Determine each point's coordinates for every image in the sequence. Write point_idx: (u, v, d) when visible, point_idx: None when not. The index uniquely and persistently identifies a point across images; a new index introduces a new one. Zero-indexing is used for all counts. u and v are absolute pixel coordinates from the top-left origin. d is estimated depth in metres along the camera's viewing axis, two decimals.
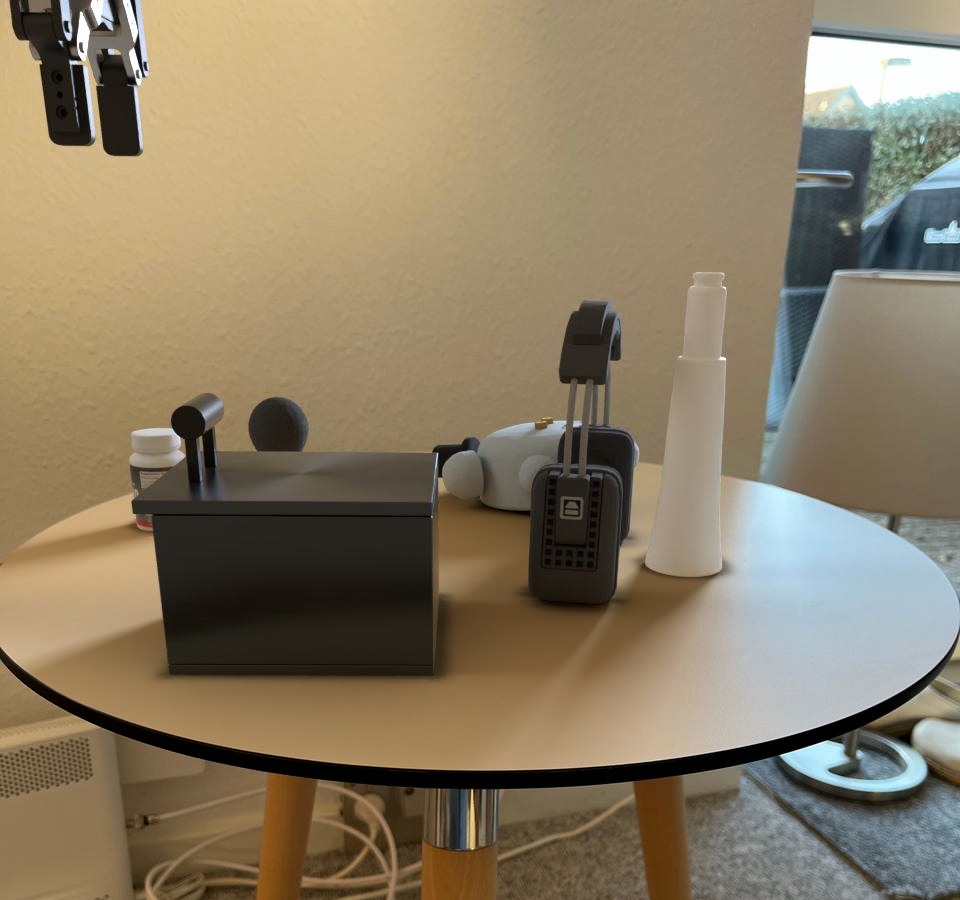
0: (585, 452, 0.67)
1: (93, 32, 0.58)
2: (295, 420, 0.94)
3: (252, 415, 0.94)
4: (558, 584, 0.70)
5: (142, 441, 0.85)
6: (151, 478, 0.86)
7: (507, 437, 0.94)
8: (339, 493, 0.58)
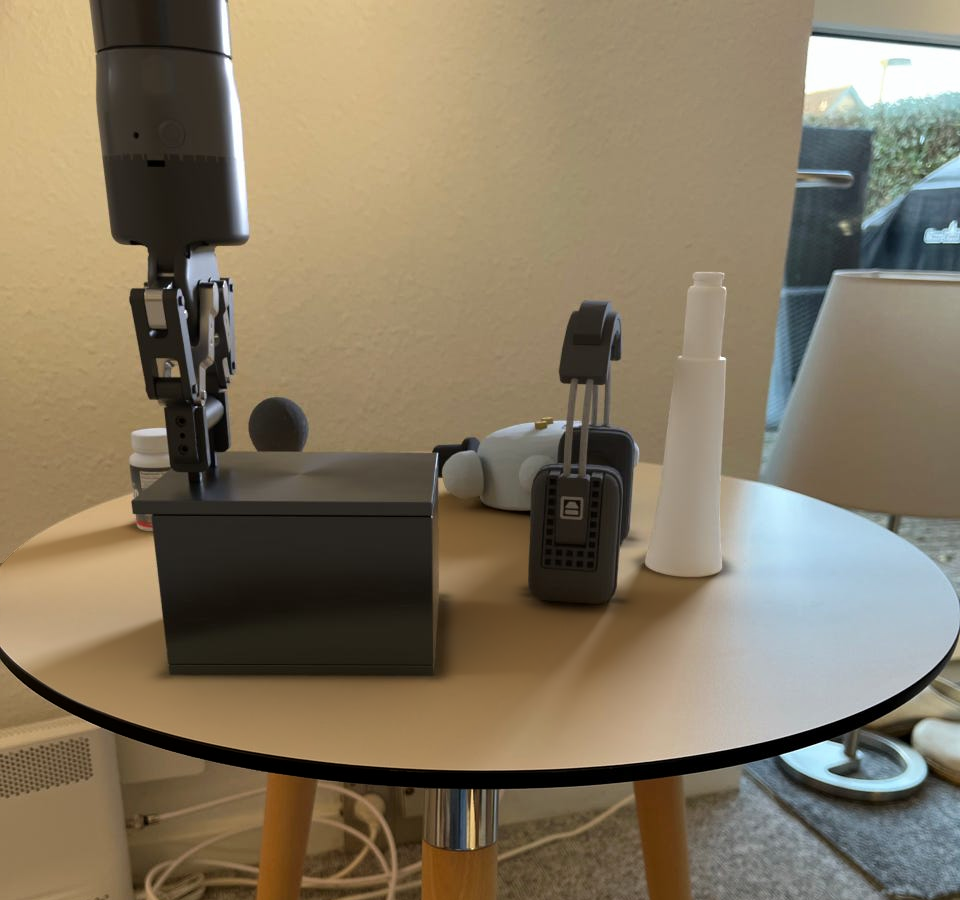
0: (585, 452, 0.67)
1: None
2: (295, 420, 0.94)
3: (252, 415, 0.94)
4: (558, 584, 0.70)
5: (142, 441, 0.85)
6: (151, 478, 0.86)
7: (507, 437, 0.94)
8: (339, 493, 0.58)
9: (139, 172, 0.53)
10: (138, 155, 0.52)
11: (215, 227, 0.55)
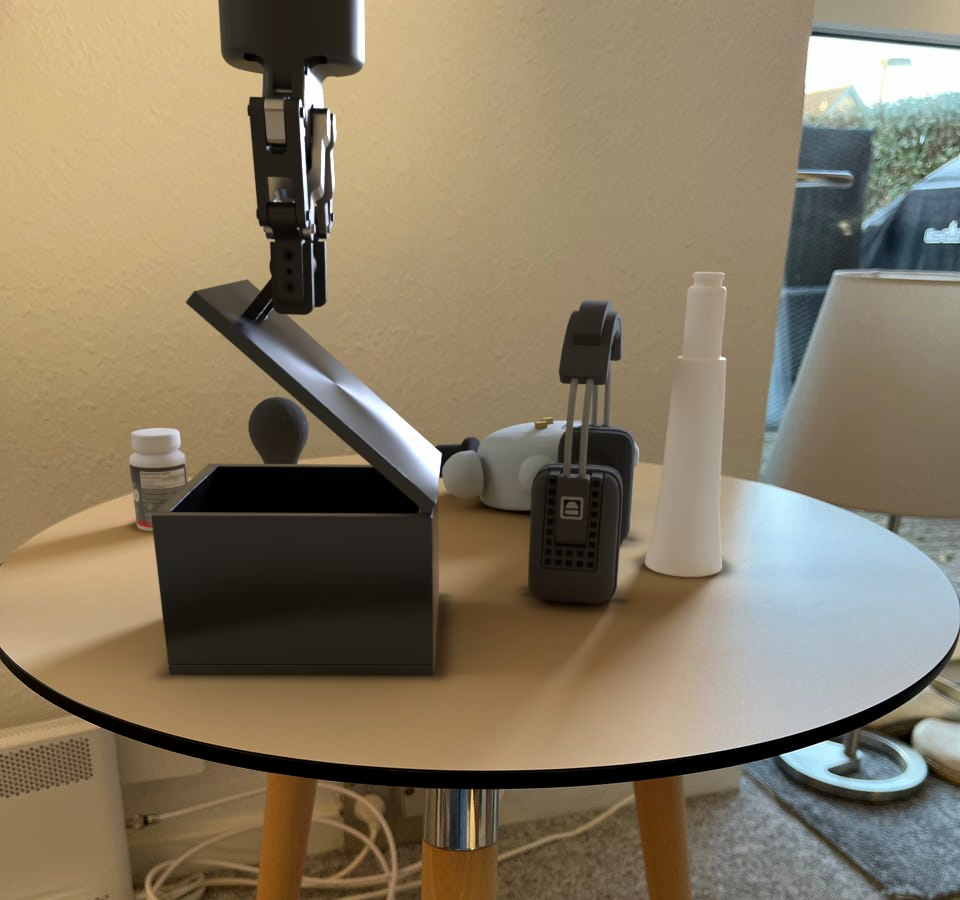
0: (585, 452, 0.67)
1: None
2: (295, 420, 0.94)
3: (252, 415, 0.94)
4: (558, 584, 0.70)
5: (142, 441, 0.85)
6: (151, 478, 0.86)
7: (507, 437, 0.94)
8: (366, 432, 0.57)
9: None
10: None
11: (335, 42, 0.51)
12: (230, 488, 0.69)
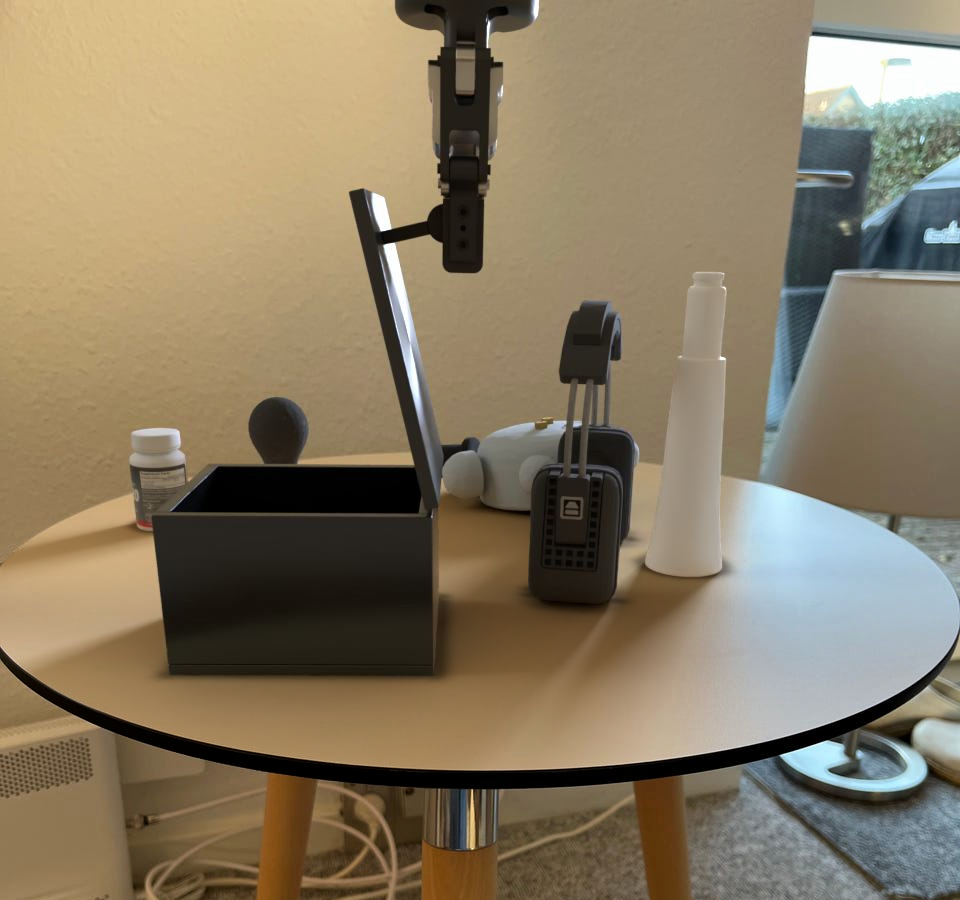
0: (585, 452, 0.67)
1: None
2: (295, 420, 0.94)
3: (252, 415, 0.94)
4: (558, 584, 0.70)
5: (142, 441, 0.85)
6: (151, 478, 0.86)
7: (507, 437, 0.94)
8: (418, 407, 0.56)
9: None
10: None
11: None
12: (230, 488, 0.69)
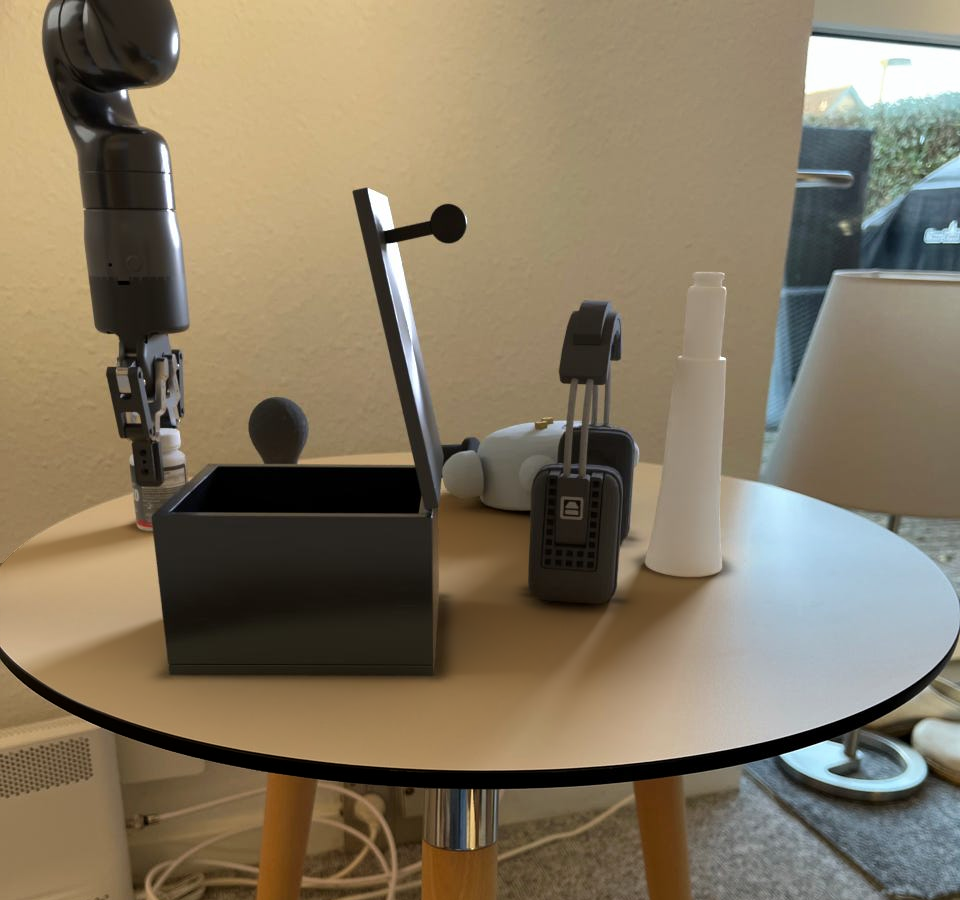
0: (585, 452, 0.67)
1: None
2: (295, 420, 0.94)
3: (252, 415, 0.94)
4: (558, 584, 0.70)
5: None
6: None
7: (507, 437, 0.94)
8: (419, 407, 0.56)
9: (112, 288, 0.79)
10: (111, 277, 0.79)
11: (164, 323, 0.81)
12: (230, 488, 0.69)
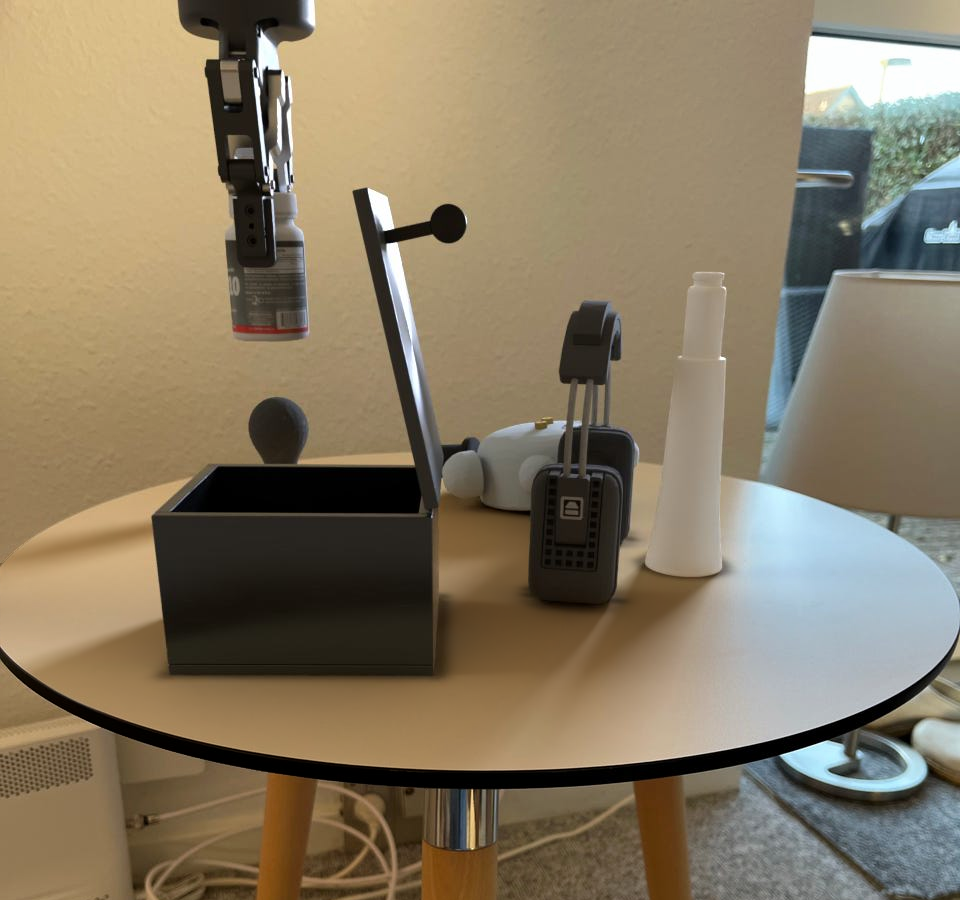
0: (585, 452, 0.67)
1: None
2: (295, 420, 0.94)
3: (252, 415, 0.94)
4: (558, 584, 0.70)
5: None
6: None
7: (507, 437, 0.94)
8: (419, 407, 0.56)
9: None
10: None
11: (286, 5, 0.55)
12: (230, 488, 0.69)
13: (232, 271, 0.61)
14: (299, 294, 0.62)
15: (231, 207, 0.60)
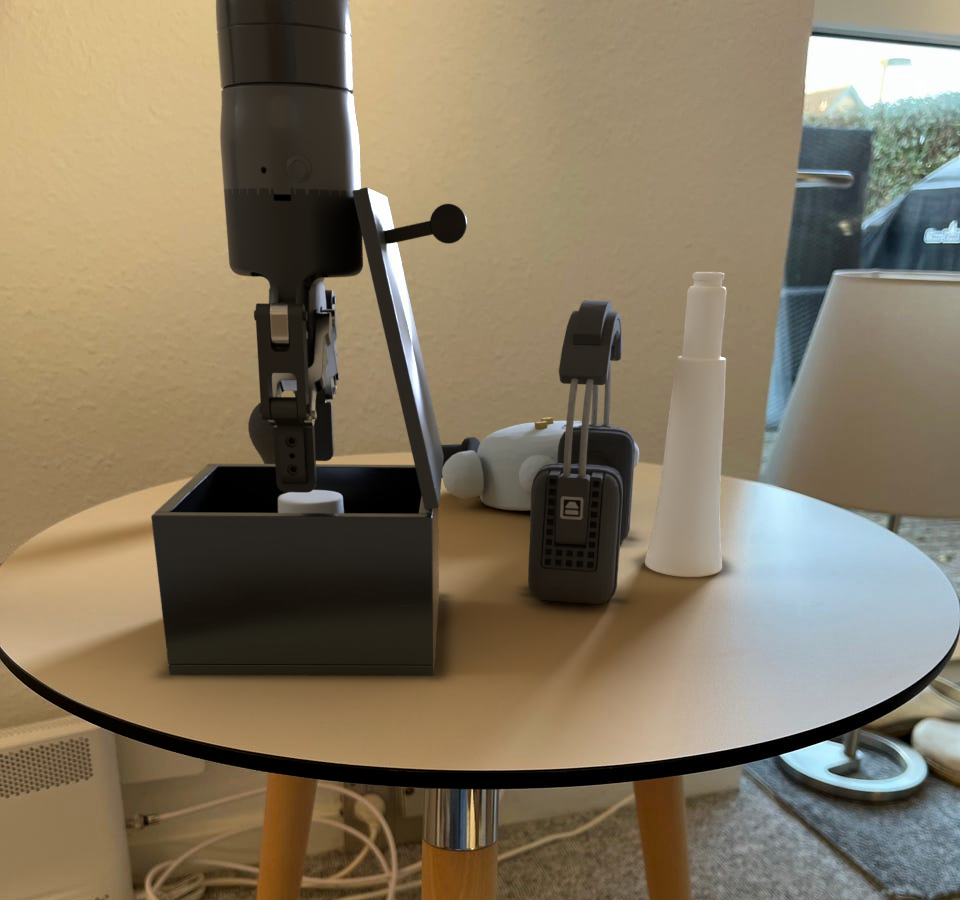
0: (585, 452, 0.67)
1: None
2: None
3: (252, 415, 0.94)
4: (558, 584, 0.70)
5: (297, 510, 0.61)
6: None
7: (507, 437, 0.94)
8: (419, 407, 0.56)
9: (265, 206, 0.53)
10: (265, 189, 0.53)
11: (336, 260, 0.55)
12: (230, 488, 0.69)
13: None
14: None
15: None
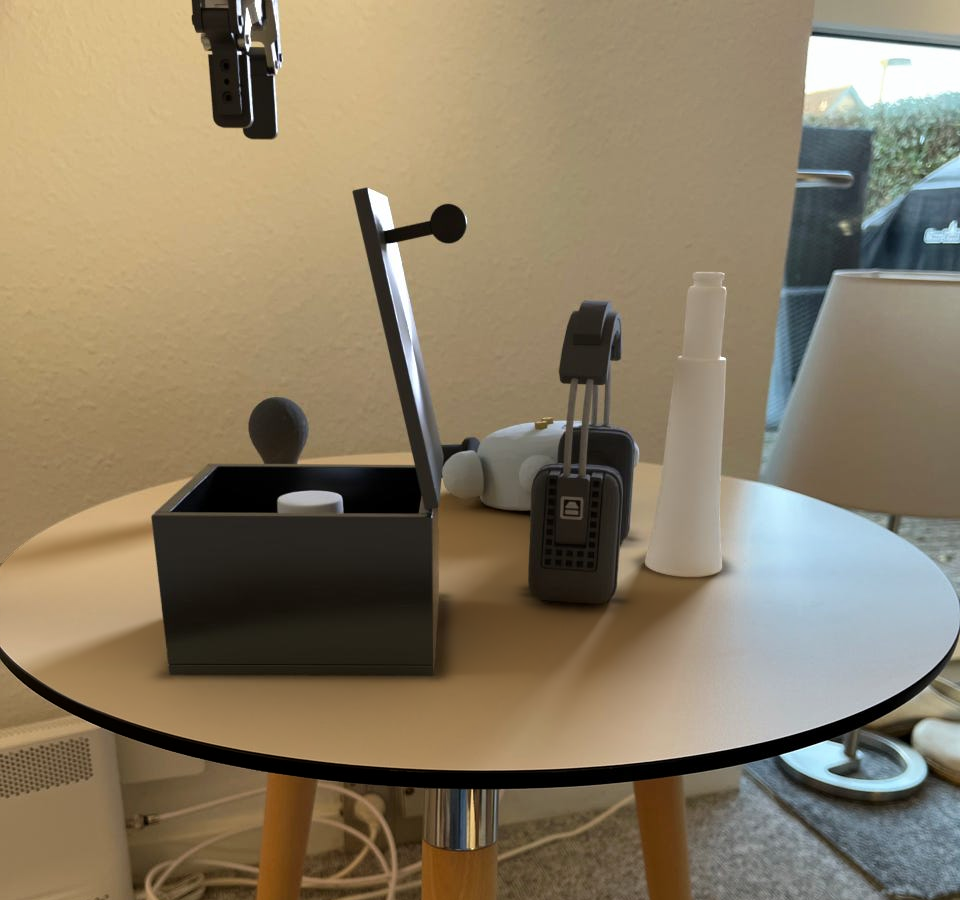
0: (585, 452, 0.67)
1: None
2: (295, 420, 0.94)
3: (252, 415, 0.94)
4: (558, 584, 0.70)
5: (297, 512, 0.61)
6: None
7: (507, 437, 0.94)
8: (419, 407, 0.56)
9: None
10: None
11: None
12: (230, 488, 0.69)
13: None
14: None
15: None
